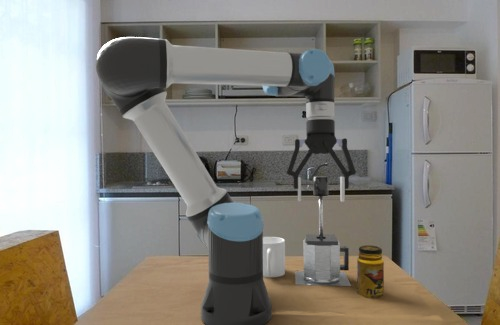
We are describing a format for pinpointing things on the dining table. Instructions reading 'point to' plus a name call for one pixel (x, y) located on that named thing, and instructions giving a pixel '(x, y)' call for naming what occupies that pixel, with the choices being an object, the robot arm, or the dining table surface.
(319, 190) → the plunger
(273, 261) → the cup
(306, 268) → the carafe
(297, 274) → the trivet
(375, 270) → the condiment
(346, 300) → the dining table surface
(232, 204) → the robot arm
